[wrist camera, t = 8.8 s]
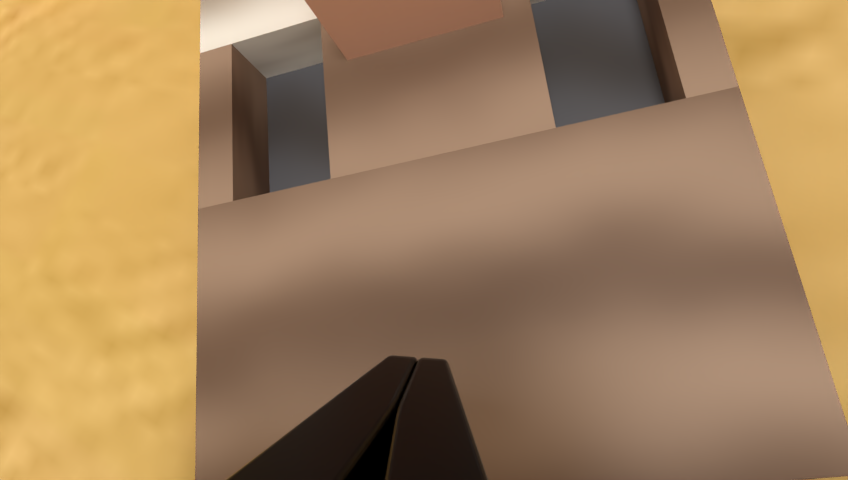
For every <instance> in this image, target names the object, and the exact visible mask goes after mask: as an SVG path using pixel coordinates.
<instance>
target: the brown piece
mask: <svg viewBox="0 0 848 480" xmlns="http://www.w3.org/2000/svg"><path fill="white" fill-rule="evenodd" d="M501 5H502V11H503V16H504V17H502V18H499V19H495V20H492V21H488V22H484V23H481V24H477V25H474V26H470V27H466V28H463V29H459V30H456V31H452V32H448V33H445V34H441V35H437V36H434V37H430V38H427V39H423V40H419V41H416V42H412V43H409V44H405V45H401V46H398V47H394V48H391V49H387V50H383V51H380V52H376V53H373V54H369V55H365V56H362V57H358V58H354V59H351V60H347V59H346V58H345V56H344V55H343V53H342V52H341V51H340V49H339V48H338V46H337V45H336V44H335V42H334V41H333V39H332V38H331V37H330V35H329V34H328V32H327V31H326V30H325V28H324V27H323V25H322V24H321V23H320V21H319V20H318V18H317V17H316V16H315V14H314V13H313V11H312V10H311V9H310V7H309V6H308V4H307V3H306V2H305V0H201V14H200V104H199V195H198V285H197V375H196V466H195V480H226V479H227V478H229V477H230V476H231V475H233V474H234V473H235V472H237V471H238V470H239V469H241V468H242V467H243V466H244V465H246V464H247V463H248V462H250V461H251V460H252V459H254V458H255V457H256V456H258V455H259V454H260V453H262V452H263V451H264V450H266V449H267V448H268V447H269V446H271V445H272V444H273V443H275V442H276V441H277V440H279V439H280V438H281V437H283V436H284V435H285V434H287V433H288V432H289V431H290V430H292V429H293V428H294V427H296V426H297V425H298V424H300V423H301V422H302V421H304V420H305V419H306V418H308V417H309V416H310V415H312V414H313V413H314V412H315V411H317V410H318V409H319V408H321V407H322V406H323V405H325V404H326V403H327V402H329V401H330V400H331V399H333V398H334V397H335V396H336V395H338V394H339V393H340V392H342V391H343V390H344V389H346V388H347V387H348V386H350V385H351V384H352V383H354V382H355V381H356V380H357V379H359V378H360V377H361V376H363V375H364V374H365V373H367V372H368V371H369V370H371V369H372V368H373V367H375V366H376V365H377V364H379V363H380V362H381V361H382V360H384V359H385V358H386V357H388V356H390V355H397V356H410V357H415V358H416V359H417V360H419V359H420V358H437V359H445V360H447V362H448V363H449V366H450V369H451V372H452V375H453V378H454V381H455V384H456V387H457V390H458V393H459V396H460V398H461V401H462V404H463V407H464V410H465V413H466V416H467V419H468V422H469V425H470V428H471V431H472V434H473V437H474V440H475V442H476V445H477V448H478V451H479V454H480V457H481V460H482V463H483V466H484V469H485V472H486V475H487V478H488V480H802V479H815V478H828V477H841V476H848V426H847V423H846V420H845V416H844V413H843V410H842V407H841V404H840V401H839V398H838V395H837V391H836V388H835V385H834V382H833V379H832V376H831V373H830V370H829V367H828V363H827V360H826V357H825V354H824V351H823V348H822V345H821V342H820V338H819V335H818V332H817V329H816V326H815V323H814V320H813V317H812V314H811V310H810V307H809V304H808V301H807V298H806V295H805V292H804V289H803V285H802V282H801V279H800V276H799V273H798V270H797V267H796V264H795V261H794V257H793V254H792V251H791V248H790V245H789V242H788V239H787V236H786V232H785V229H784V226H783V223H782V220H781V217H780V214H779V211H778V208H777V204H776V201H775V198H774V195H773V192H772V189H771V186H770V183H769V179H768V176H767V173H766V170H765V167H764V164H763V161H762V158H761V155H760V151H759V148H758V145H757V142H756V139H755V136H754V133H753V130H752V126H751V123H750V120H749V117H748V114H747V111H746V108H745V105H744V102H743V98H742V95H741V92H740V89H739V86H738V83H737V80H736V77H735V73H734V70H733V67H732V64H731V61H730V58H729V55H728V52H727V49H726V45H725V42H724V39H723V36H722V33H721V30H720V27H719V24H718V21H717V17H716V14H715V11H714V8H713V5H712V2H711V0H501Z"/></svg>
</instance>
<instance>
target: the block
mask: <svg viewBox="0 0 848 480" xmlns="http://www.w3.org/2000/svg"><path fill="white" fill-rule="evenodd" d="M305 2H306V3H307V4H308V6H309V7H310V9H311V10H312V11H313V13H314V14H315V16H316V17H317V18H318V20H319V21H320V23H321V24H322V25H323V27H324V28H325V30H326V31H327V32H328V34H329V35H330V37H331V38H332V39H333V41H334V42H335V44H336V45H337V46H338V48H339V49H340V51H341V52H342V53H343V55H344V56H345V58H346V59H347V60H351V59H354V58H358V57H362V56H365V55H369V54H373V53H376V52H380V51H383V50H387V49H391V48H394V47H398V46H401V45H405V44H409V43H412V42H416V41H419V40H423V39H427V38H430V37H434V36H437V35H441V34H445V33H448V32H452V31H456V30H459V29H463V28H466V27H470V26H474V25H477V24H481V23H484V22H488V21H492V20H495V19H499V18H502V17H504V16H503V11H502V5H501V0H305Z"/></svg>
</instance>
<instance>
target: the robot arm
mask: <svg viewBox="0 0 848 480" xmlns="http://www.w3.org/2000/svg"><path fill="white" fill-rule="evenodd" d="M226 480H488V478H487V475H486V472H485V469H484V466H483V463H482V460H481V457H480V454H479V451H478V448H477V445H476V442H475V440H474V437H473V434H472V431H471V428H470V425H469V422H468V419H467V416H466V413H465V410H464V407H463V404H462V401H461V398H460V396H459V393H458V390H457V387H456V384H455V381H454V378H453V375H452V372H451V369H450V366H449V363H448V362H447V360H445V359H437V358H420V359H419V360H417V359H416V358H415V357H410V356H397V355H390V356H388V357H386V358H385V359H384V360H382V361H381V362H380V363H379V364H377V365H376V366H375V367H373V368H372V369H371V370H369V371H368V372H367V373H365V374H364V375H363V376H361V377H360V378H359V379H357V380H356V381H355V382H354V383H352V384H351V385H350V386H348V387H347V388H346V389H344V390H343V391H342V392H340V393H339V394H338V395H336V396H335V397H334V398H333V399H331V400H330V401H329V402H327V403H326V404H325V405H323V406H322V407H321V408H319V409H318V410H317V411H315V412H314V413H313V414H312V415H310V416H309V417H308V418H306V419H305V420H304V421H302V422H301V423H300V424H298V425H297V426H296V427H294V428H293V429H292V430H290V431H289V432H288V433H287V434H285V435H284V436H283V437H281V438H280V439H279V440H277V441H276V442H275V443H273V444H272V445H271V446H269V447H268V448H267V449H266V450H264V451H263V452H262V453H260V454H259V455H258V456H256V457H255V458H254V459H252V460H251V461H250V462H248V463H247V464H246V465H244V466H243V467H242V468H241V469H239V470H238V471H237V472H235V473H234V474H233V475H231V476H230V477H229V478H227V479H226Z"/></svg>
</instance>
